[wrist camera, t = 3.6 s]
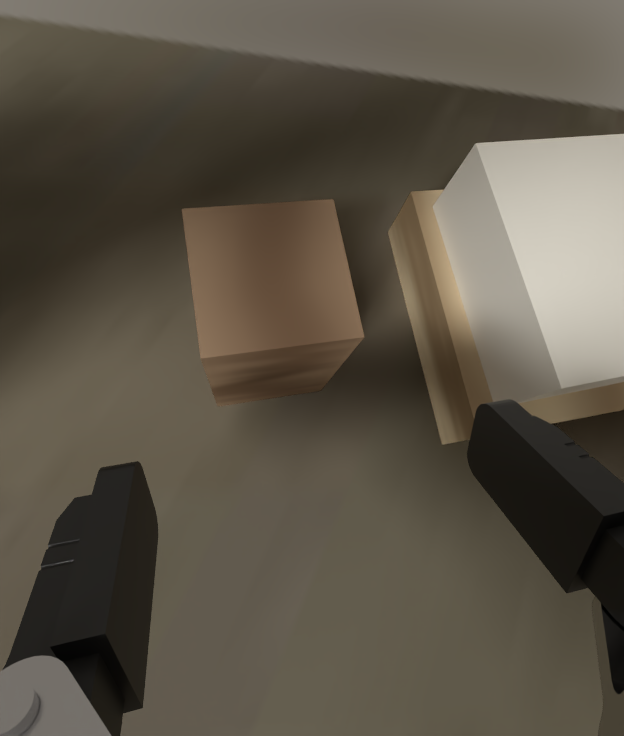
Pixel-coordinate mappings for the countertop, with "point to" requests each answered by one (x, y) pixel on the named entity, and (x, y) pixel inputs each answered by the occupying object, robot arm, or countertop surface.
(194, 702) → the countertop surface
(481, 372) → the tower base
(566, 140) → the tower top
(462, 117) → the countertop surface
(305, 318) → the walnut block
